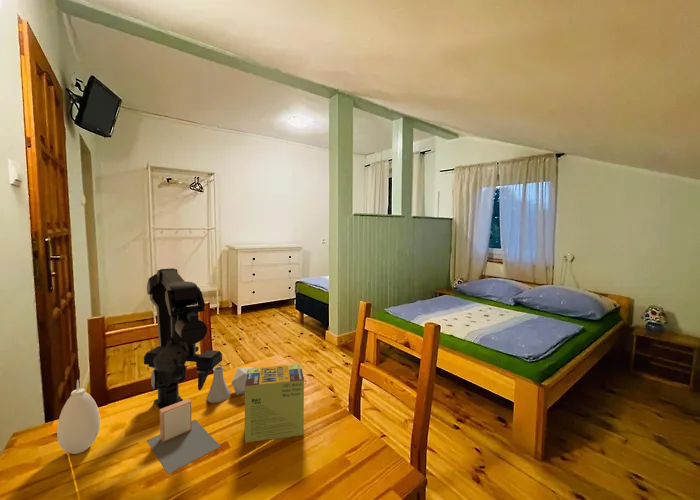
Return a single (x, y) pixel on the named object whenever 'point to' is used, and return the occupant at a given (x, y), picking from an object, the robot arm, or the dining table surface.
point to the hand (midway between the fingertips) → (183, 388)
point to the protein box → (274, 402)
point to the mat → (183, 447)
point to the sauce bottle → (78, 422)
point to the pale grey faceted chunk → (240, 380)
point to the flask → (218, 387)
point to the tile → (175, 420)
